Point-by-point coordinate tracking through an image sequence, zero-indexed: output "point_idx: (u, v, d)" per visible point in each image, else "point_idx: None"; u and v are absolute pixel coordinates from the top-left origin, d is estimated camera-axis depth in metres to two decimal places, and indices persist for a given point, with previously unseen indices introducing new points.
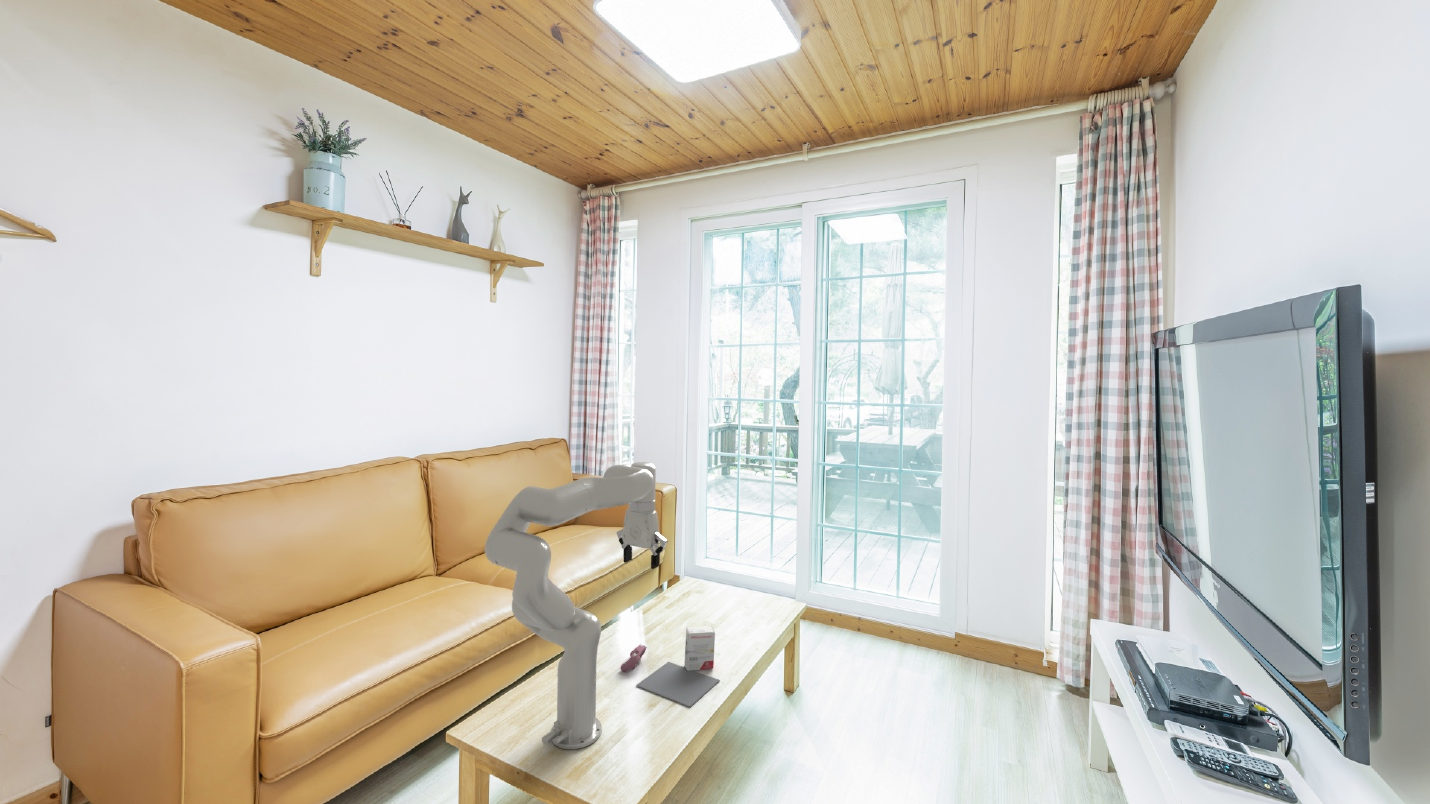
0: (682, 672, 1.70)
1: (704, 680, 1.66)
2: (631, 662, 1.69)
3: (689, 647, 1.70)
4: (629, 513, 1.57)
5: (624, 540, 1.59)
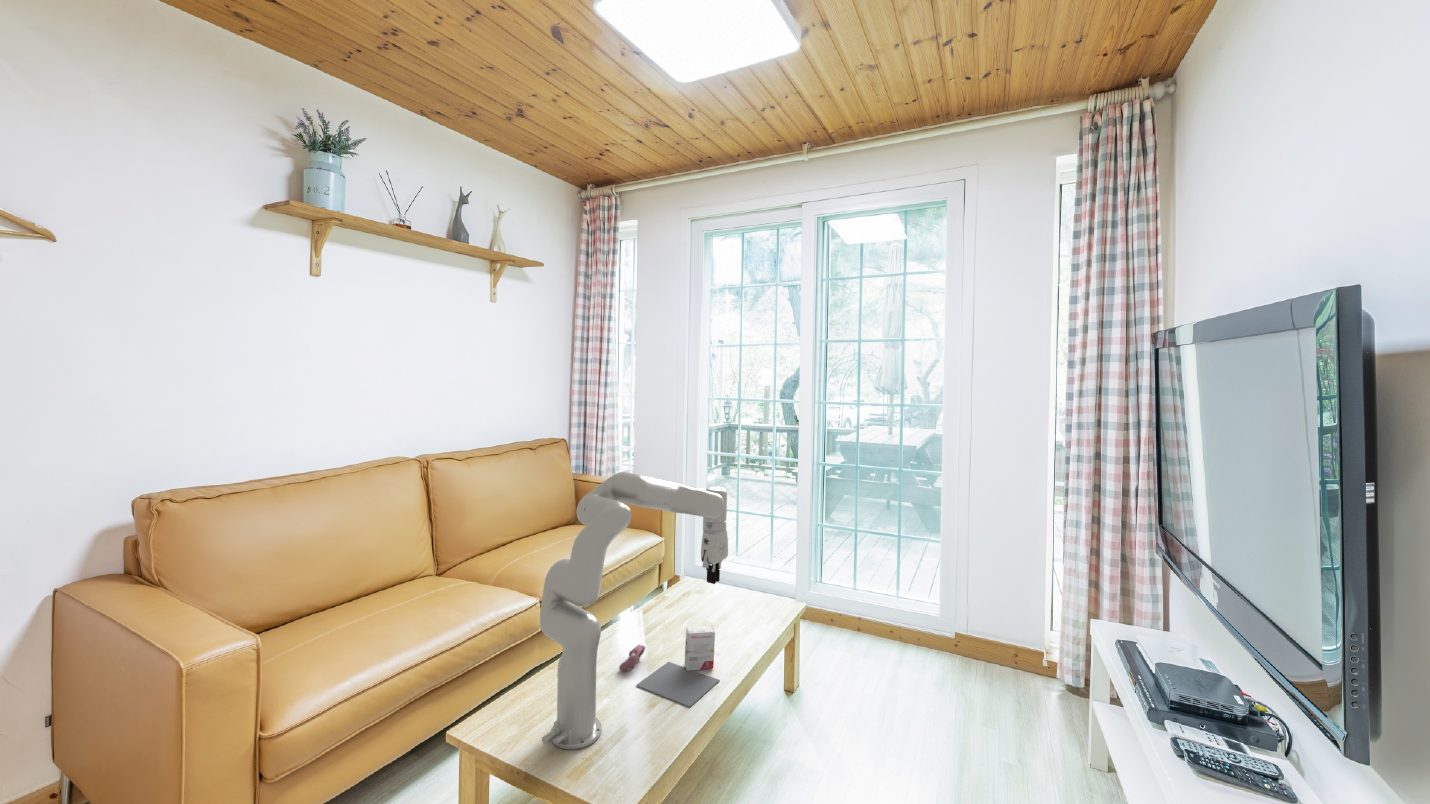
0: (682, 672, 1.70)
1: (704, 680, 1.66)
2: (629, 662, 1.69)
3: (689, 647, 1.70)
4: (717, 535, 1.74)
5: (714, 561, 1.73)
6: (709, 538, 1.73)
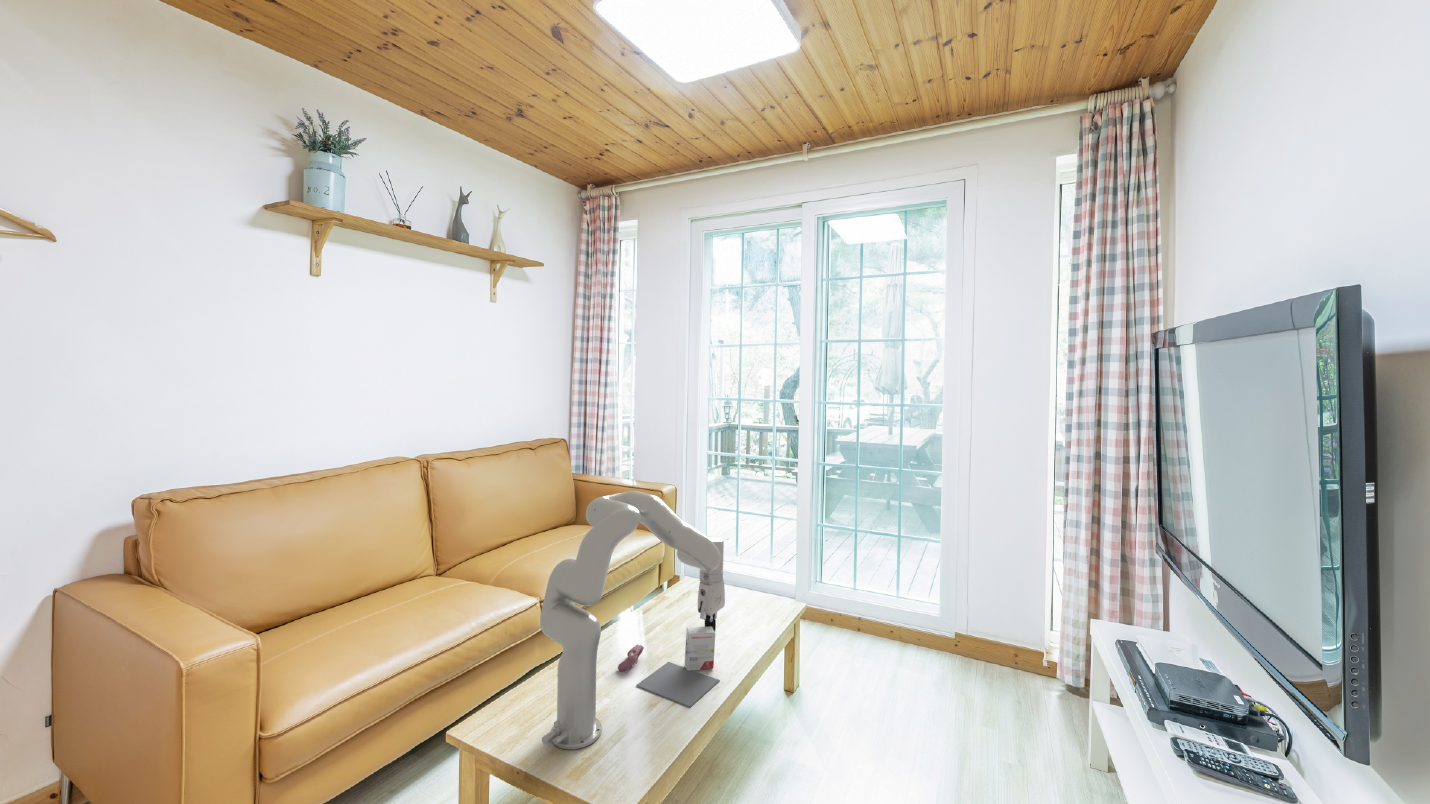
0: (682, 672, 1.70)
1: (704, 680, 1.66)
2: (628, 662, 1.69)
3: (689, 647, 1.70)
4: (713, 586, 1.74)
5: (711, 612, 1.73)
6: (706, 589, 1.73)
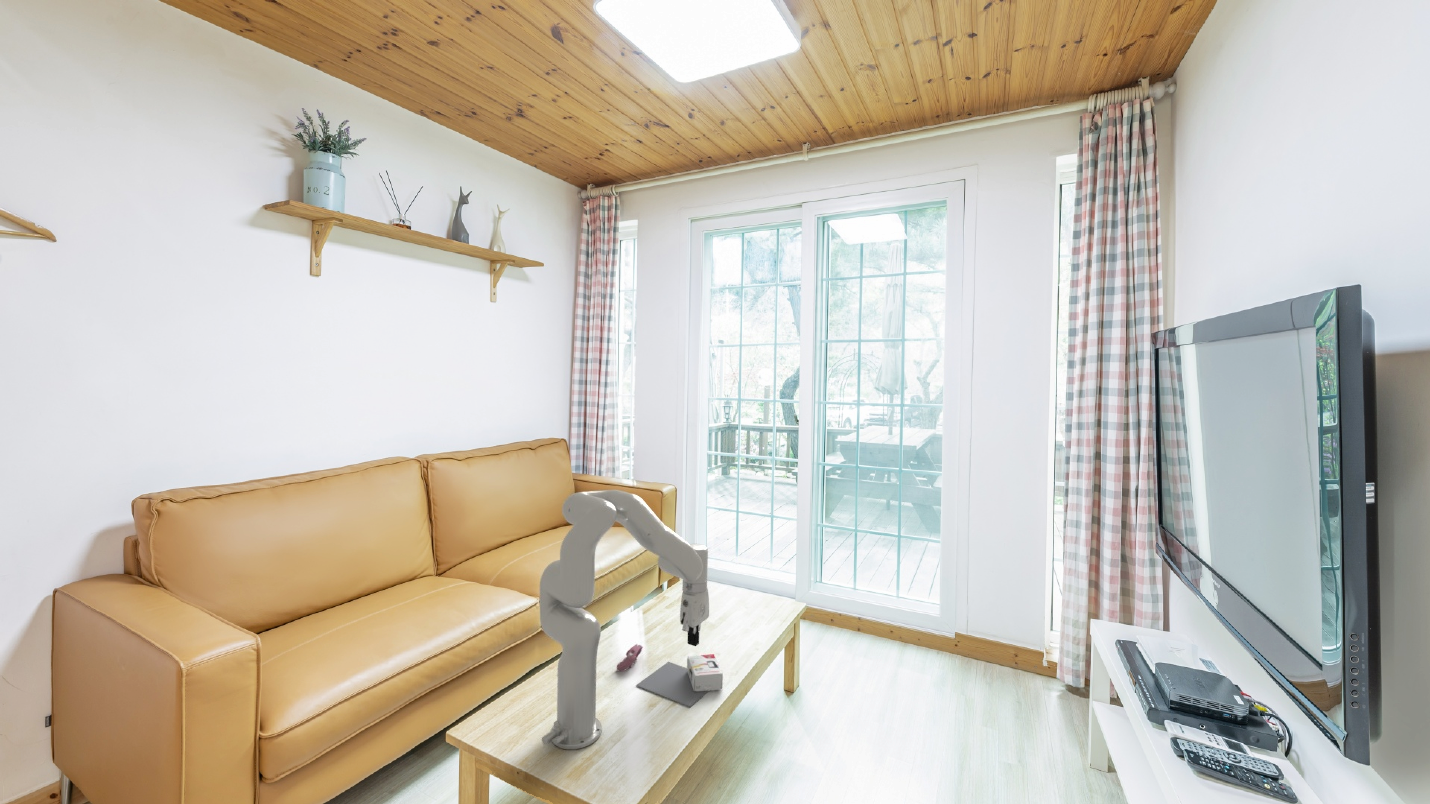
0: (682, 672, 1.70)
1: None
2: (627, 662, 1.69)
3: None
4: (697, 596, 1.66)
5: (694, 624, 1.65)
6: (688, 600, 1.65)
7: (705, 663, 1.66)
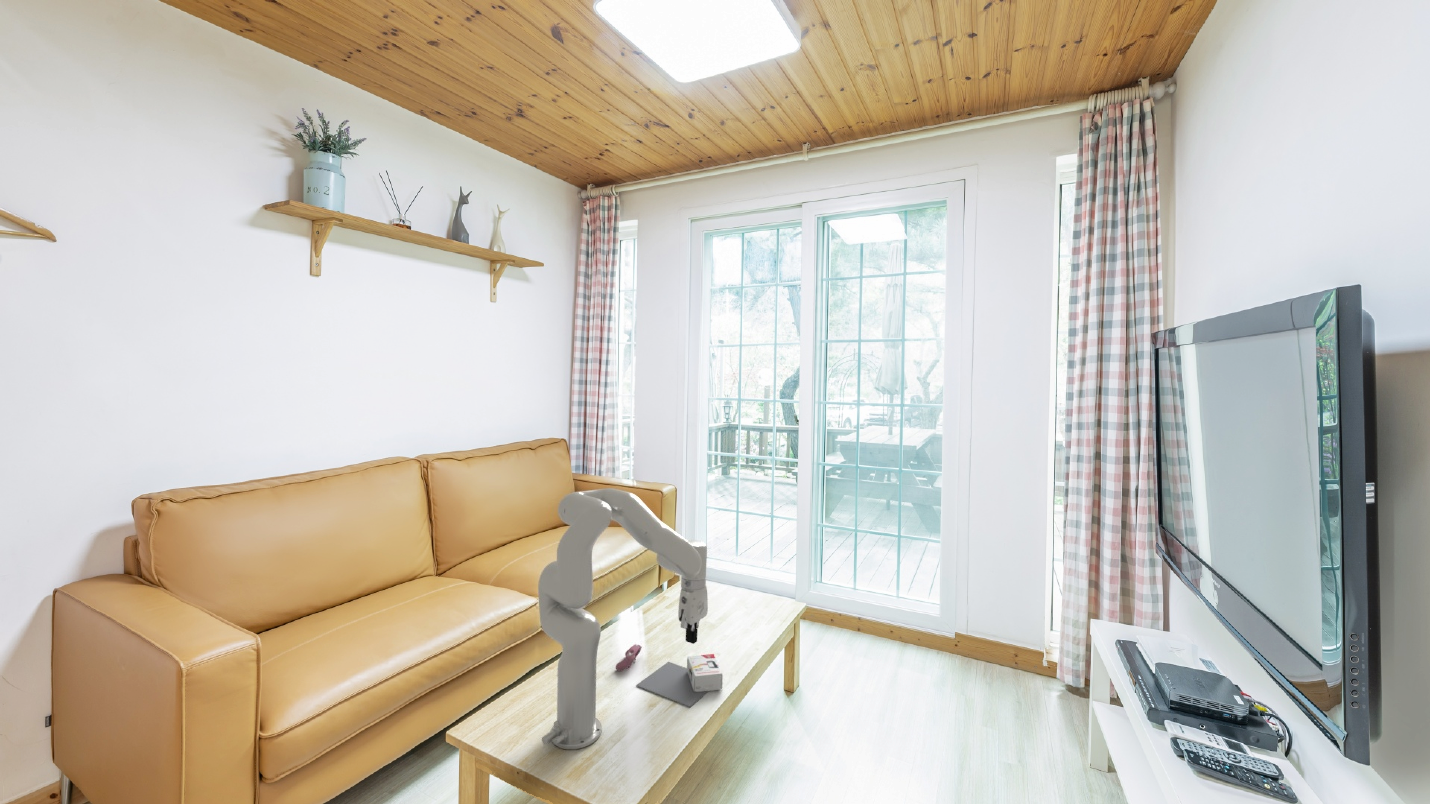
0: (682, 672, 1.70)
1: None
2: (626, 662, 1.69)
3: None
4: (695, 593, 1.65)
5: (692, 621, 1.64)
6: (687, 597, 1.64)
7: (705, 663, 1.66)
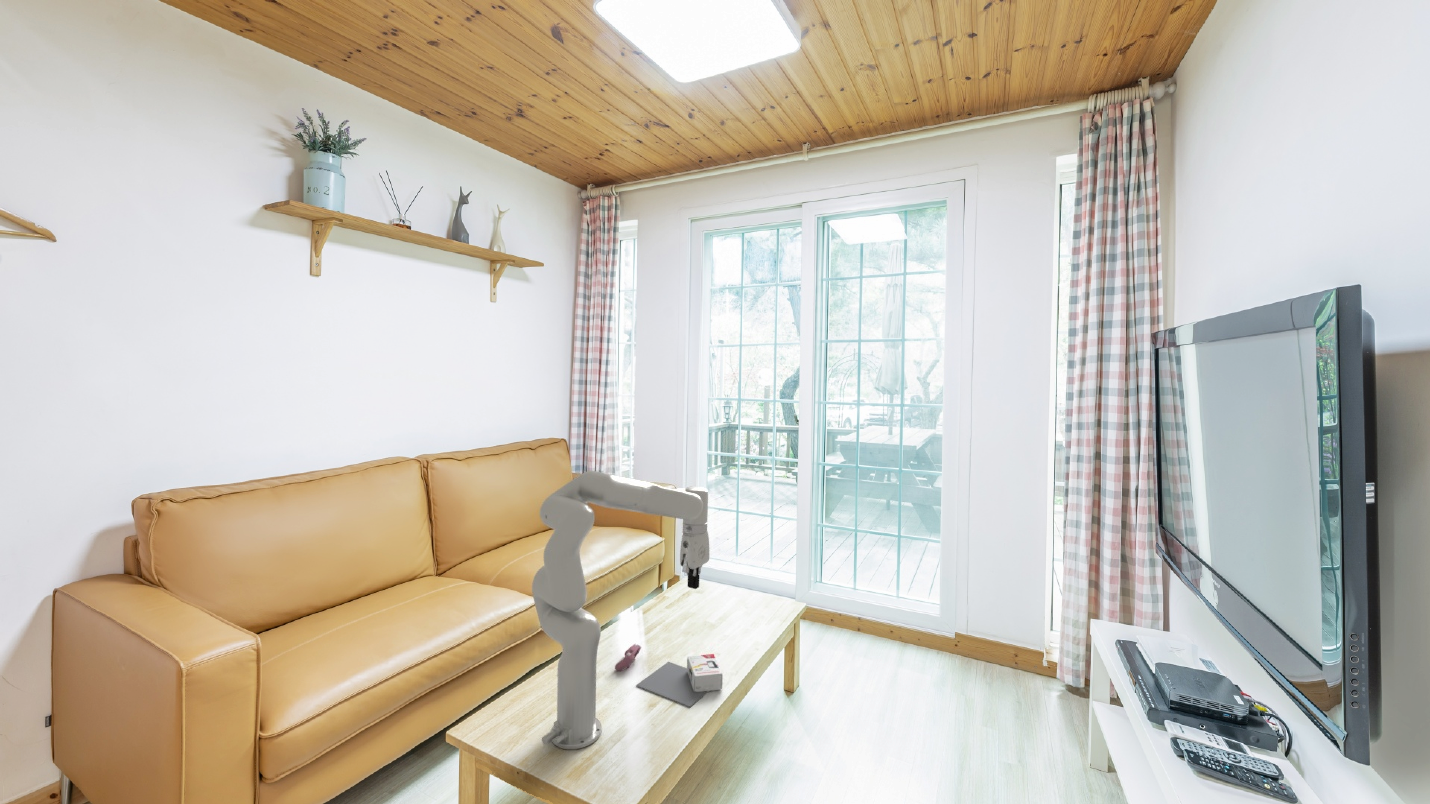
0: (682, 672, 1.70)
1: None
2: (625, 662, 1.69)
3: None
4: (697, 537, 1.64)
5: (694, 566, 1.63)
6: (688, 541, 1.63)
7: (705, 663, 1.66)
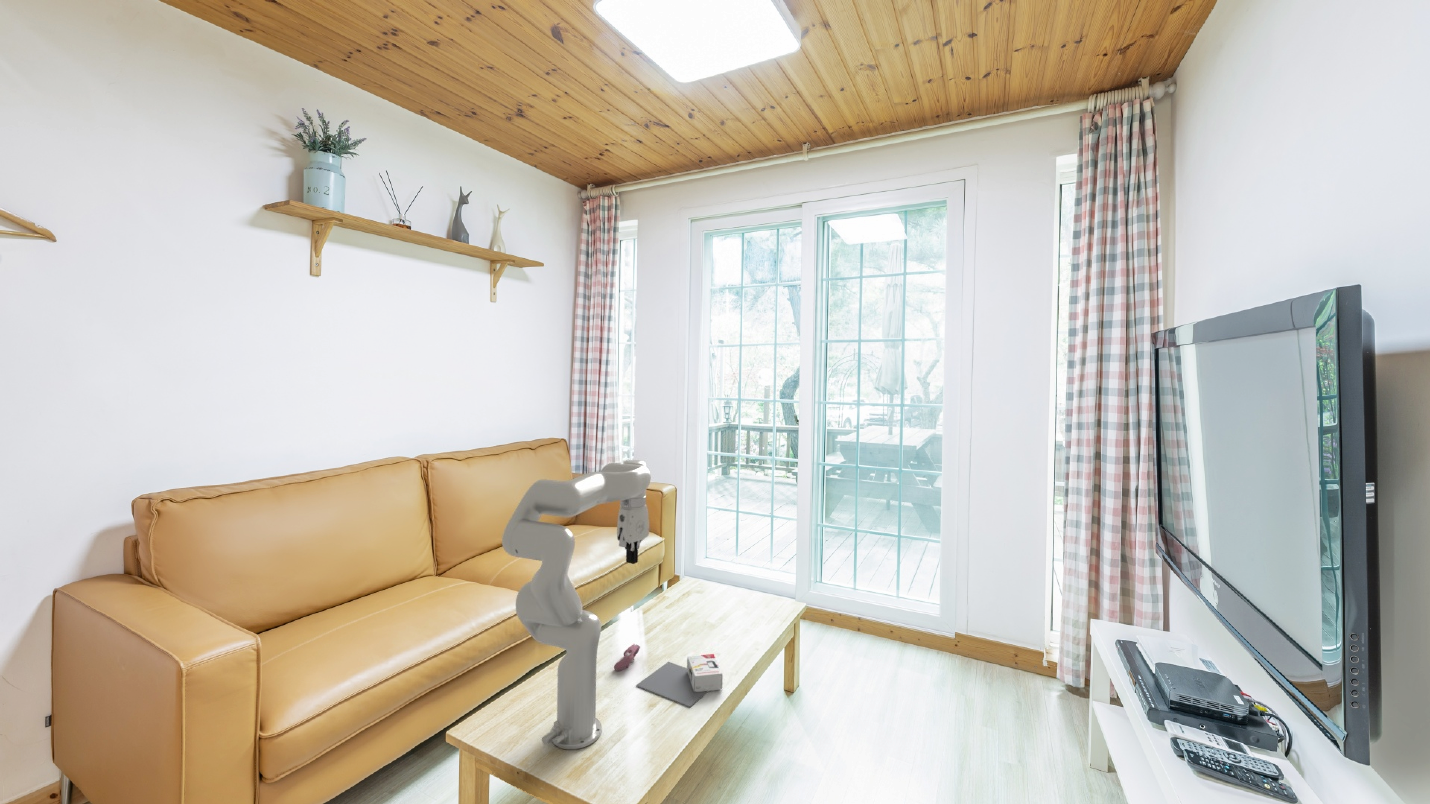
0: (682, 672, 1.70)
1: None
2: (624, 661, 1.69)
3: None
4: (634, 511, 1.61)
5: (630, 540, 1.60)
6: (625, 515, 1.60)
7: (705, 663, 1.66)
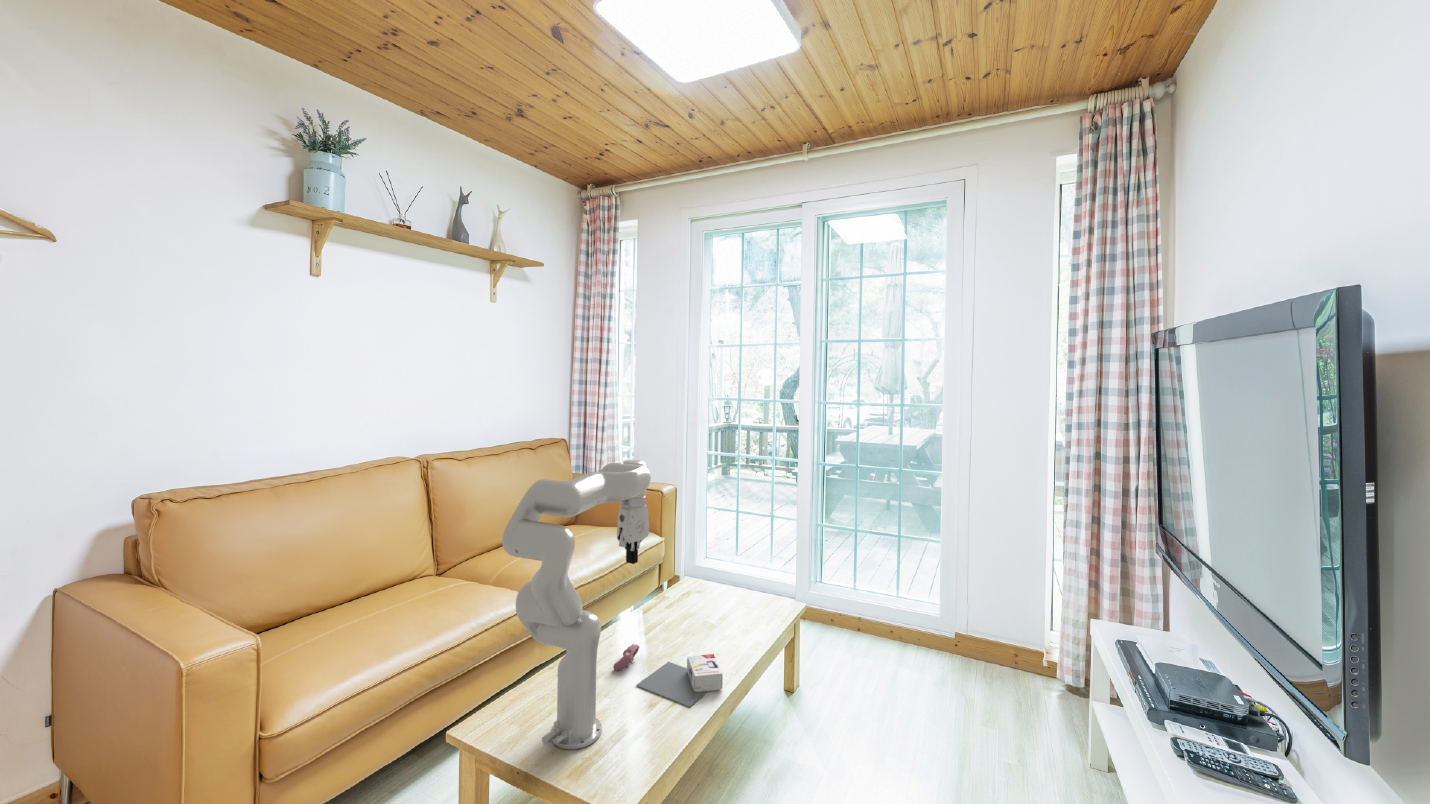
0: (682, 672, 1.70)
1: None
2: (623, 661, 1.69)
3: None
4: (634, 511, 1.61)
5: (630, 540, 1.60)
6: (625, 515, 1.60)
7: (705, 663, 1.66)
